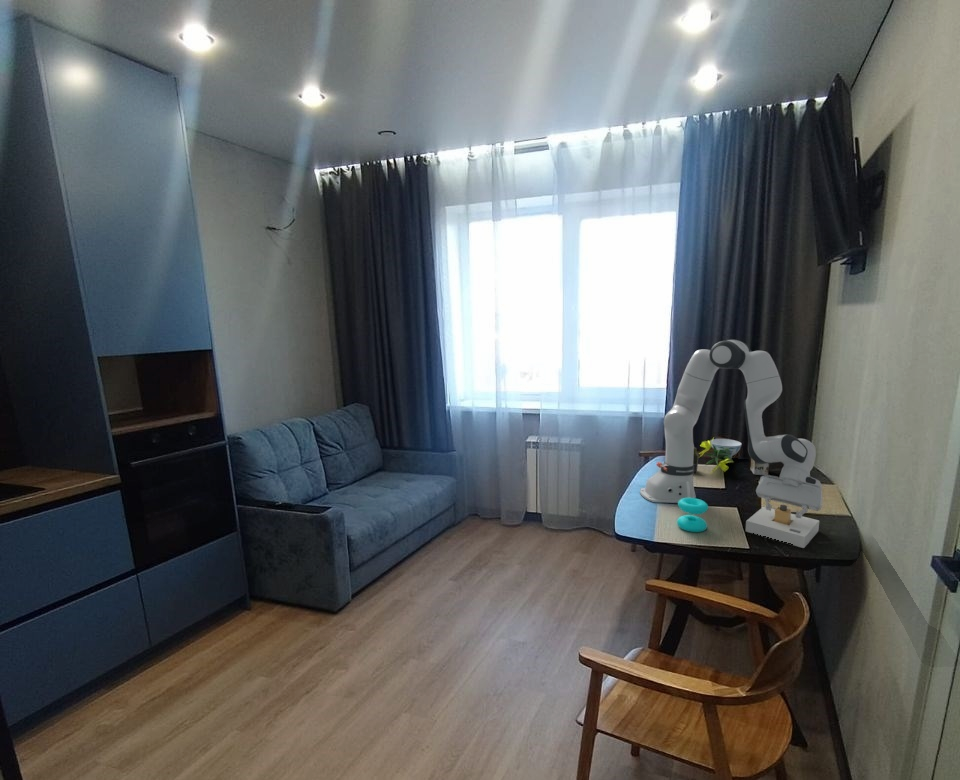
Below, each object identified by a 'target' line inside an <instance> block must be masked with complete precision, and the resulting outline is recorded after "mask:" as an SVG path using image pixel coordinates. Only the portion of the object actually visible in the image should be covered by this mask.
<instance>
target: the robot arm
mask: <svg viewBox="0 0 960 780" xmlns="http://www.w3.org/2000/svg"><path fill="white" fill-rule="evenodd" d="M719 369H722V370H723V369H724V370H740V371H741V372H742V374H743V376H744V380H745V383H746V387H747V396H746V398H745V399H744V401H743V402H744V404H743V408H744V409H743V410H744V417H745V425H746V432H747V433H746V434H747V452H748V455H749V457H750V459H751V458H752V459H753V460H754V461H755V462H756V463H758V464H767V463H769V464H772V463H782V464H783V467H782V468H781V471H780V474H779V476H776V475H770V474H768V475H761V476H760V479H759V483H758V485H757V486H756V489H755V492H756V495H757V497H758V498H761V499H764V500H765V504H766V506H765V507H766V510H769V511H771V509H773V506H772V504H771V502H772V501H774V502H778V503H782V504H784V505H790V506H795V507H798V508H799V507H800V508H801V510H799V511H798V510H797V511H796V512H795V515H796V517H797V518H801V517H802V516H803V515H804V514H806V513H808V510H811V511H816V512H819V511H820V510H822V507H823V501H824V500H823V494H822V492H823V486H822V483H821V481H820V480H819V479H816V478H814V477H812V476H811V474H810V473H811V471H812V469H813V468H814V465H815V460H816V456H817V455H816V453H817V451H816V446H815V445H814V443H813V442H812V441H810V440H808V439H805V438H797V437H796V436H794V435H793V434H778V435H773V436H766V435H765V432H764V425H763V424H764V423H763V418H762V417H763V412H764V411H765V409H766V408H768V407H769V406H770V405H771V404H773V403H775V401H777V399H779V397H780V396H781V394H782V392H783V384H782V379H781V376H780V374H779V370H778V369H777V366H776V364H775V361H774V359H773V358H772V356H771V354H770V353H769V352H768V351H764V350H754V351H752V350H751V348H750V346H749V344H747V343H746V342H744V341H742V340H739V339H738V340H737V339H727V340H721V341H718V342H717V343H715V344H714V345H713V346H712V347H711V348H710V349H698V350H696V351H695V352H694V353H693V354H692V355H691V358H690V359H689V362H687V364H686V367H685V370H684V371H683V374H682V378H681V380H680V382H679V384H678V388H677V391H676V396H675V399H674V402H673V405H672V408H671V409H670V410H668V412H667V413H666V414H665V416H664V418H663V426H664V427H663V428H664V429H663V430H664V438H665V459H664V460H665V461H664V462H663V463H661V462H660V461H658V462H657V463H656V466H657V467H658V468H660V470H659V471H657V472H656V473H655V474H654V475H652V476H651V477H648V478H647V480H646V481H645V487H643V488H642V487H641V488H640V491H639V494H640V495H641V496H642V497H643V498H644V499H645V500H647V501H649V502H653V503H665V504H666V503H668V504H669V503H671V504H672V503H673V504H678V502H679V500H681V499H683V498H697V495H696V492H695V485H694V476H695V475H694V474H695V473H694V464H693V458H694V447H695V445H694V427H695V425H696V424H697V422H698V420H699V416H700V414H701V412H702V409H703V406H704V402H705V399H706V397H707V396H708V395H707V394H708V392H709V390H710V387H711V384H712V382H713V380H714V377H715V375H716V373H717V371H718V370H719ZM769 503H770V504H769Z"/></svg>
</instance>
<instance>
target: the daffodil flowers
mask: <svg viewBox="0 0 960 780" xmlns="http://www.w3.org/2000/svg"><path fill="white" fill-rule="evenodd" d="M714 438H715V437H713V438H712V439H711V440H712V441H713V439H714ZM711 440H707V441H706V440H704V441H701V444H700V445H699V446H700V447H701V448H705V449H702V451H700V452H699V453H698V458H700V457H703V455H706V456H710V457H711V460H709V461H707V462H706V463H705V464H704V466H708V465H710V464H712V463H713V464H714V463H716V466H715V467H714V468H713V469H712V471H711V474H713V472H715V471H717V470H718V468H720V469H721V471H723V473H725V472H726V471H728V470H729V466H728V465H726V464H728V463H729V464H731V463H734V461H733V459H732V458H728V457H729V456H730V452H729V451H728V449H729V448H725V449H723V450H725V451H722V450H717V449H716V448H715V446H714V445H713V448H714V449H713V448H712V446H711V444H712V442H710V441H711ZM708 451H710V452H711V453H710V452H709V453H707V452H708ZM699 455H700V456H699ZM725 455H729V456H726V457H725ZM719 456H720V457H719Z"/></svg>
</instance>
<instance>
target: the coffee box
mask: <svg viewBox="0 0 960 780" xmlns="http://www.w3.org/2000/svg"><path fill="white" fill-rule="evenodd" d="M769 467H770V463H767V464H758V463H756V462H755V461H754V460H753V459H752V458H751V457H750V468H749V469H750V471H751V472H752V474H753V475H757V476H764V475H769V472H770V471H769V469H770V468H769Z"/></svg>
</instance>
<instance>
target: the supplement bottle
mask: <svg viewBox="0 0 960 780" xmlns="http://www.w3.org/2000/svg"><path fill="white" fill-rule="evenodd" d="M697 452H698V451H697V447H695V446H694V458H693V464H694V474H696V473H698V468H699V467H698V465H699V453H697Z"/></svg>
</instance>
